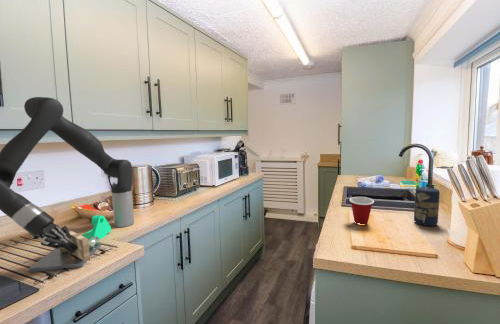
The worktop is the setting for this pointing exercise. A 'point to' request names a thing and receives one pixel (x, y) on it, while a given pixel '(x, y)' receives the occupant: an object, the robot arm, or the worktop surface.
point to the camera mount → (98, 228)
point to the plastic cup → (361, 209)
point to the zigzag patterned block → (79, 246)
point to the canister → (426, 206)
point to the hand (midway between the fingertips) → (75, 250)
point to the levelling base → (63, 258)
